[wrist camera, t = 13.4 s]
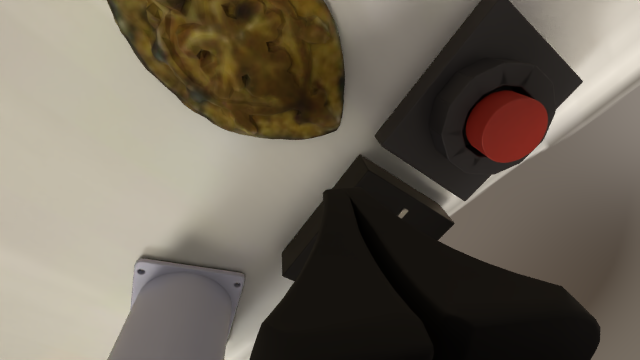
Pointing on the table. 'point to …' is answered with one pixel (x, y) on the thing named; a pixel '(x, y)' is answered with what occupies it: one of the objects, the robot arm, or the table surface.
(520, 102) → the power button
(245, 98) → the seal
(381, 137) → the power block
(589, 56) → the table surface
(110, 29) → the table surface
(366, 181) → the dial plate
